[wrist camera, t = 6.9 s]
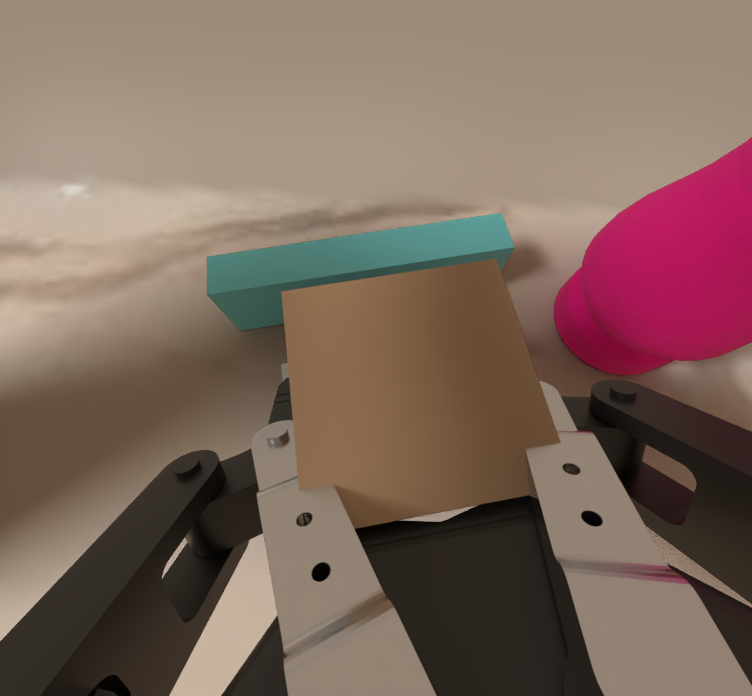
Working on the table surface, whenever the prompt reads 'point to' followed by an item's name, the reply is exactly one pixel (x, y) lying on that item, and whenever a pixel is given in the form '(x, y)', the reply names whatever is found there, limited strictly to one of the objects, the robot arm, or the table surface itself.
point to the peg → (413, 392)
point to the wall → (345, 263)
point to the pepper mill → (667, 275)
